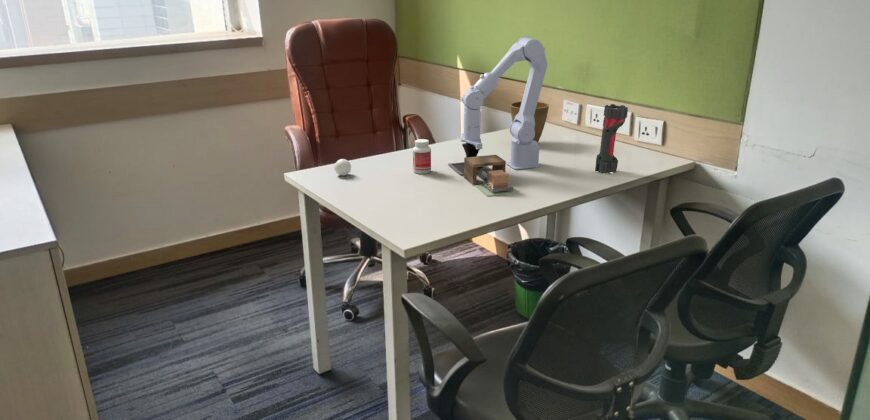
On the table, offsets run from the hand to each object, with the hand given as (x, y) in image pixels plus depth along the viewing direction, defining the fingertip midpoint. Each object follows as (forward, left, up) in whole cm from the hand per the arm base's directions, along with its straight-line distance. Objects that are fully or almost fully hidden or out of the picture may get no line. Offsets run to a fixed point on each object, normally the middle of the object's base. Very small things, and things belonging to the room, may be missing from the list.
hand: (471, 164), depth 225 cm
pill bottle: (+17, -3, -2) cm, 17 cm away
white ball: (+44, -9, -2) cm, 45 cm away
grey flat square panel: (0, 0, -2) cm, 2 cm away
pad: (0, +23, -2) cm, 23 cm away
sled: (0, +14, -1) cm, 14 cm away
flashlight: (-44, +18, -2) cm, 48 cm away
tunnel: (0, +12, -2) cm, 12 cm away
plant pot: (-33, -23, -2) cm, 40 cm away
